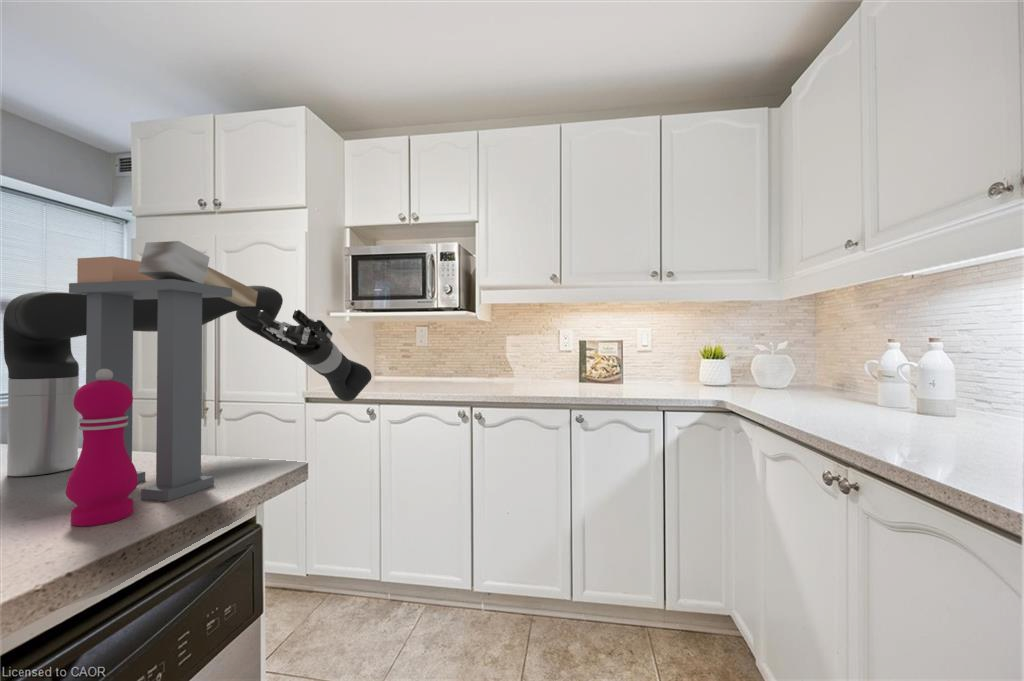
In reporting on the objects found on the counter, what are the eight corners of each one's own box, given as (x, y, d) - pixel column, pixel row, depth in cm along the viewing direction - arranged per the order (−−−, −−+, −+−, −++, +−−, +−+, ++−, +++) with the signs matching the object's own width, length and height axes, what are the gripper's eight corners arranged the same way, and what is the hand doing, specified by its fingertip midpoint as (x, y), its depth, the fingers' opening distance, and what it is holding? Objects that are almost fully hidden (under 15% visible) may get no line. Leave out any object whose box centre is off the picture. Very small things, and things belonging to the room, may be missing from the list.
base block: (77, 283, 73) (77, 258, 73) (140, 290, 83) (140, 268, 83) (112, 282, 72) (112, 256, 72) (172, 289, 81) (172, 267, 81)
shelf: (66, 492, 72) (69, 283, 73) (137, 473, 83) (138, 291, 84) (170, 501, 68) (172, 279, 69) (231, 480, 79) (232, 288, 79)
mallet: (138, 272, 71) (145, 242, 72) (233, 311, 90) (238, 287, 91) (172, 271, 70) (179, 241, 71) (261, 311, 89) (265, 286, 90)
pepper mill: (95, 530, 57) (96, 370, 58) (50, 526, 59) (51, 369, 59) (151, 510, 65) (152, 367, 65) (109, 506, 66) (111, 367, 66)
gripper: (298, 338, 113) (255, 299, 100) (350, 338, 110) (313, 298, 97) (287, 365, 110) (241, 328, 96) (341, 365, 107) (301, 328, 93)
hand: (277, 313), depth 96 cm, fingers open, 8 cm apart
